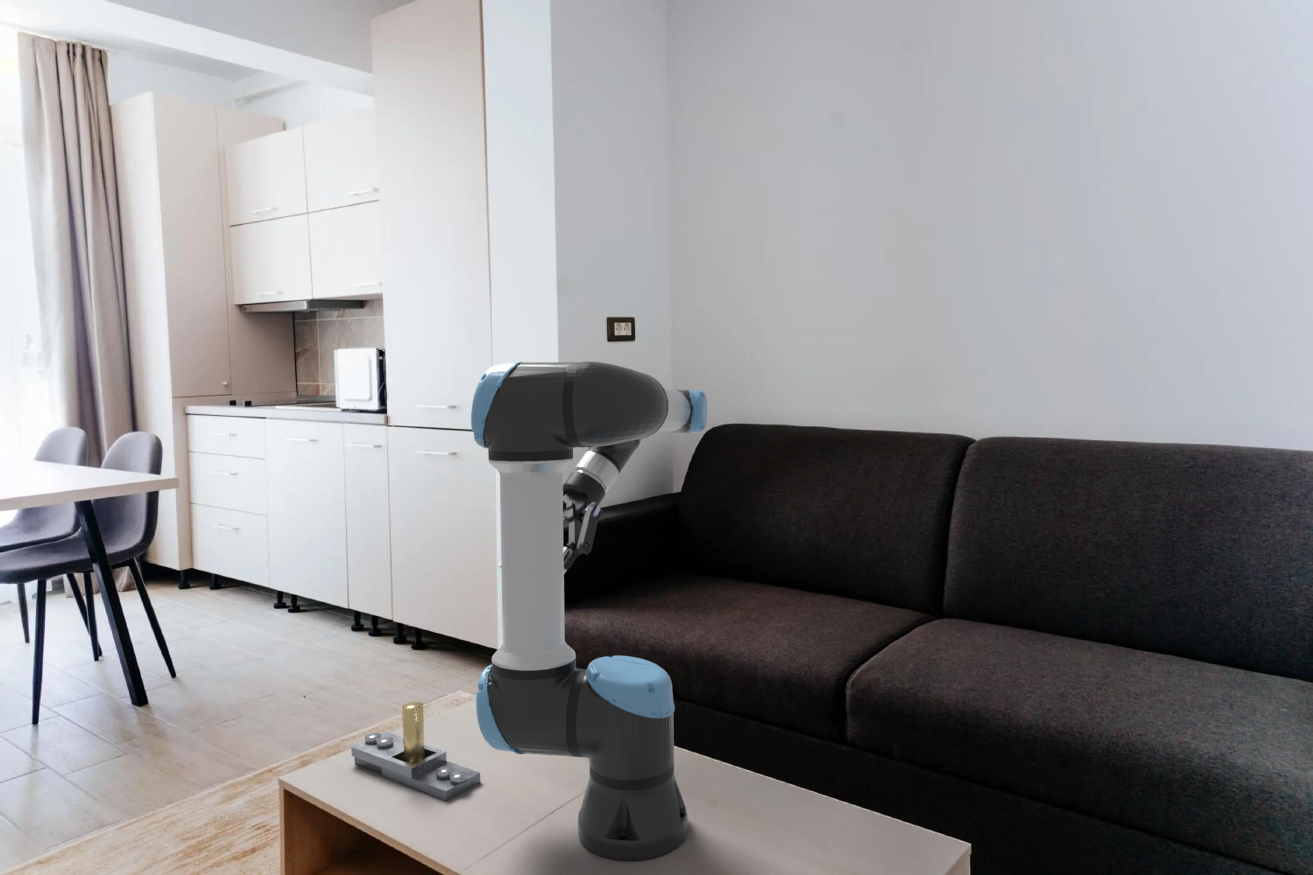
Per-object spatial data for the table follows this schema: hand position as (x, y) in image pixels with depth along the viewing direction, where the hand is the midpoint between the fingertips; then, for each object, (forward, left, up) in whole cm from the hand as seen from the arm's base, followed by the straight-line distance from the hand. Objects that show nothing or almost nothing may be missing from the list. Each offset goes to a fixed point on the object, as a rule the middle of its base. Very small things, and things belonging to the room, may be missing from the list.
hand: (525, 576), depth 154 cm
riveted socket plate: (-4, +23, -27) cm, 36 cm away
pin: (-4, +23, -27) cm, 36 cm away
